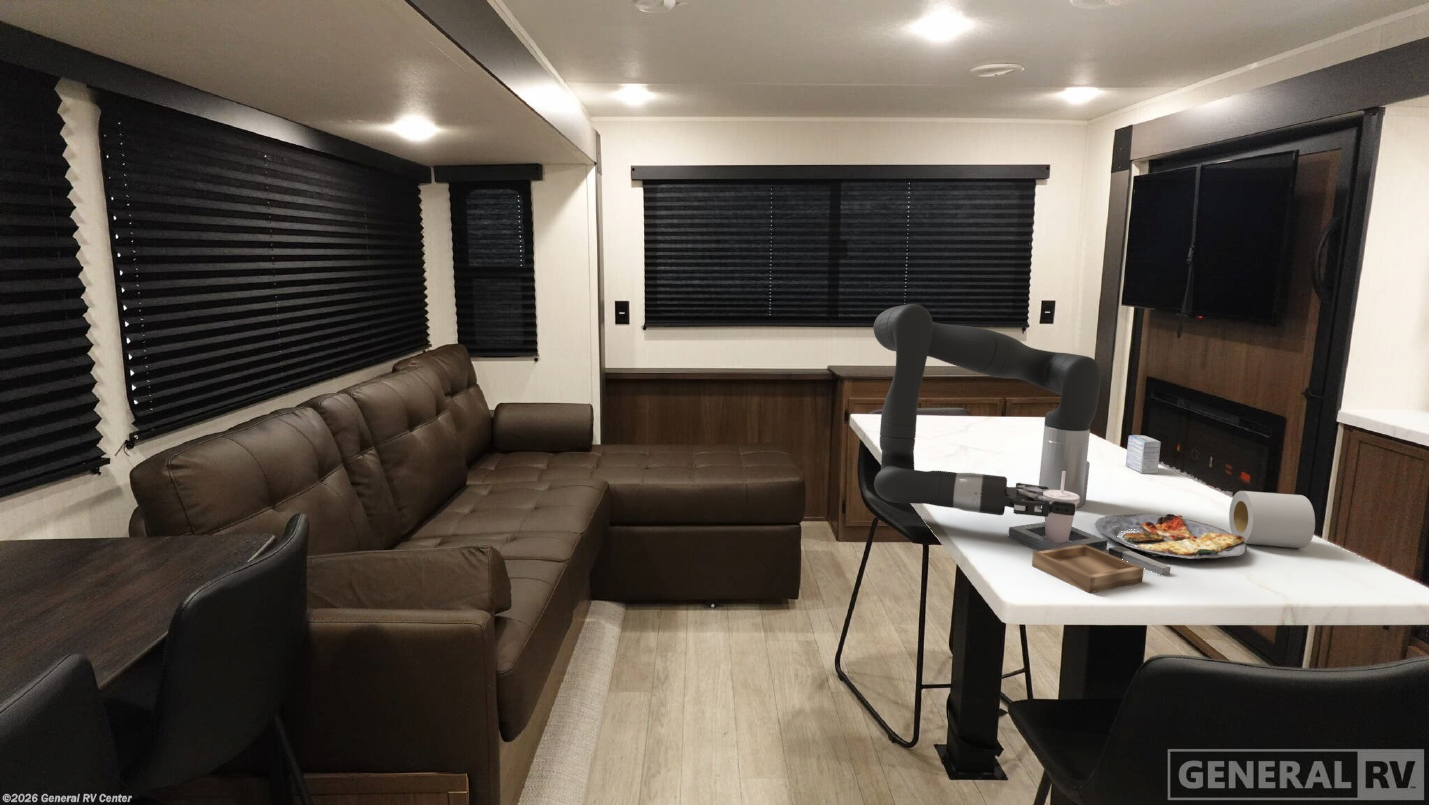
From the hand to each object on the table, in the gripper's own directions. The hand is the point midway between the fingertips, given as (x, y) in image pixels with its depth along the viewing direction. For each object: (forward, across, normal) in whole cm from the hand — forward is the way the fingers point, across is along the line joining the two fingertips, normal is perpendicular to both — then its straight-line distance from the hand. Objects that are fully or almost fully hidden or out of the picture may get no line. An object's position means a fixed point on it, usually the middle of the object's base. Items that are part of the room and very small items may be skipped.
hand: (1074, 504), depth 142 cm
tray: (+2, -14, +8) cm, 16 cm away
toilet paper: (+35, +18, +8) cm, 40 cm away
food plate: (+17, +10, +8) cm, 22 cm away
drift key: (+11, -5, +8) cm, 15 cm away
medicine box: (+20, +71, +8) cm, 74 cm away
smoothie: (-2, 0, +8) cm, 9 cm away
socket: (-2, 0, +8) cm, 8 cm away
